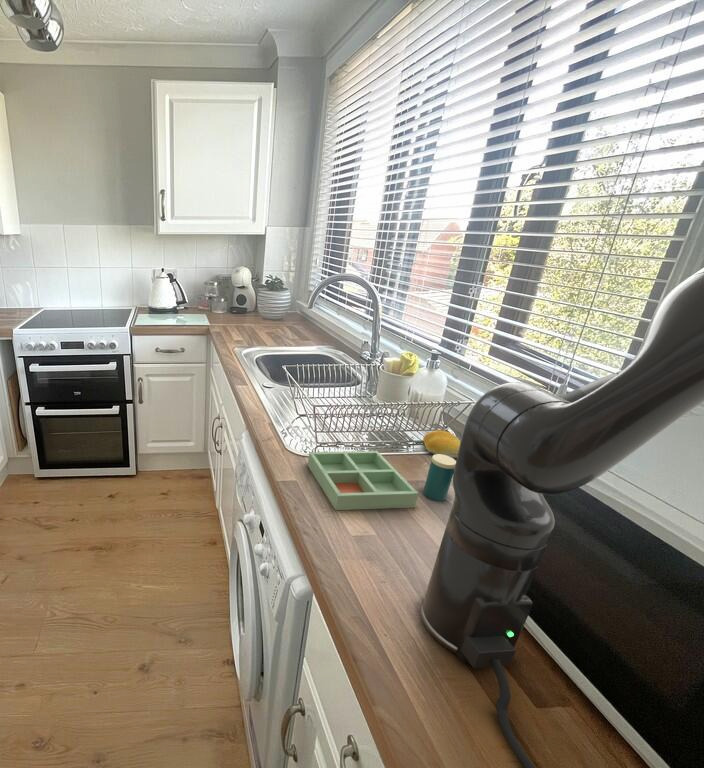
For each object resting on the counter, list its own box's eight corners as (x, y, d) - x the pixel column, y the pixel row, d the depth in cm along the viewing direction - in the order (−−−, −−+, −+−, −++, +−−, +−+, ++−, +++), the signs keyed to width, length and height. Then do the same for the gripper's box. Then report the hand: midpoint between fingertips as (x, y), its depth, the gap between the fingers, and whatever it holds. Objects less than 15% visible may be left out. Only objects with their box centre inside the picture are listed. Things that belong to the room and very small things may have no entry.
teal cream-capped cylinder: (450, 500, 80) (461, 464, 77) (431, 501, 79) (441, 465, 76) (437, 488, 83) (447, 453, 81) (418, 488, 83) (428, 454, 80)
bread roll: (428, 456, 95) (431, 441, 94) (419, 438, 103) (423, 424, 102) (468, 462, 93) (473, 447, 91) (456, 444, 101) (460, 429, 99)
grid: (415, 507, 77) (418, 493, 76) (335, 510, 76) (338, 495, 75) (374, 463, 92) (377, 450, 91) (307, 465, 90) (309, 452, 89)
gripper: (634, 444, 60) (514, 489, 68) (595, 408, 72) (498, 450, 80) (601, 404, 60) (485, 454, 69) (567, 375, 72) (473, 420, 81)
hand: (492, 452), depth 75 cm, fingers open, 8 cm apart
